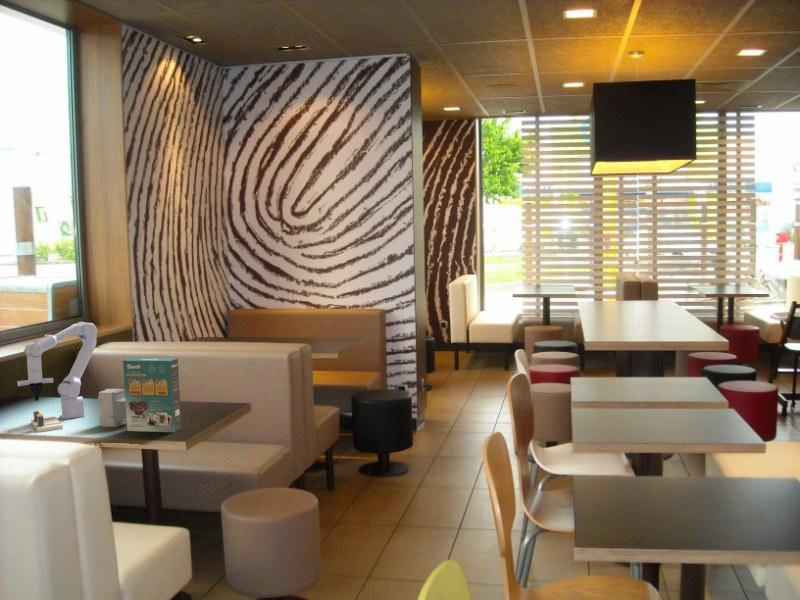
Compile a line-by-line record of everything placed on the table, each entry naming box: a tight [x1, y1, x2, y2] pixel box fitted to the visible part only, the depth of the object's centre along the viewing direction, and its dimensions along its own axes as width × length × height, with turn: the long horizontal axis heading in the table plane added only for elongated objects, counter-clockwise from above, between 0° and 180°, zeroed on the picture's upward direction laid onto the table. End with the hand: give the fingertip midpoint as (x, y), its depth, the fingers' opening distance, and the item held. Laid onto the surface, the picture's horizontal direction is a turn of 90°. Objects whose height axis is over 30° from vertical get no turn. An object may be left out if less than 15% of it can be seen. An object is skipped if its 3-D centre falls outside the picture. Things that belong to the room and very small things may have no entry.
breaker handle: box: [37, 413, 44, 426], centre depth 367 cm, size 2×4×5 cm, turn 31°
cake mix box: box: [122, 357, 182, 433], centre depth 358 cm, size 22×6×30 cm, turn 77°
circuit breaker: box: [97, 388, 127, 428], centre depth 370 cm, size 8×14×15 cm, turn 78°
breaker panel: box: [30, 410, 64, 433], centre depth 373 cm, size 10×20×6 cm, turn 31°
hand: (36, 400), depth 377 cm, fingers closed
